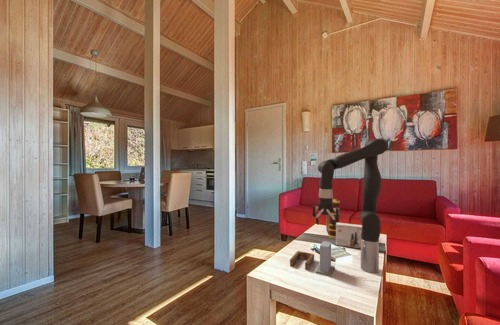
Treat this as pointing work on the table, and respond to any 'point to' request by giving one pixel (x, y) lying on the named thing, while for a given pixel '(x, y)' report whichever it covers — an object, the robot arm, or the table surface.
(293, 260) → the frame
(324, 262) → the block
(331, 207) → the robot arm
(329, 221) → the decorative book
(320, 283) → the table surface
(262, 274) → the table surface
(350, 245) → the skincare box
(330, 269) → the pad
